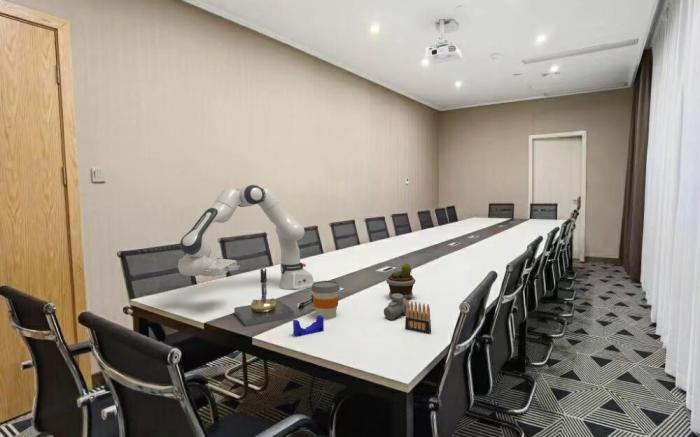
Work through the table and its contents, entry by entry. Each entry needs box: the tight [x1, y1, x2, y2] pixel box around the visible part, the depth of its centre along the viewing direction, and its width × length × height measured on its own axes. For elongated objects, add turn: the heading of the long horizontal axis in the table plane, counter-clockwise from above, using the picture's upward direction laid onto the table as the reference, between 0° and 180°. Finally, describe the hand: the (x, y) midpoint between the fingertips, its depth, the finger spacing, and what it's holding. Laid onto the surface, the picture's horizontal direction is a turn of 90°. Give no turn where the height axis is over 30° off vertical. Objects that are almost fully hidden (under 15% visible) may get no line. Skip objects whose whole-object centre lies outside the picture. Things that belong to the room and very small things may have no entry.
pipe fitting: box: [383, 293, 411, 320], centre depth 176 cm, size 12×8×10 cm
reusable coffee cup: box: [311, 280, 340, 320], centre depth 179 cm, size 13×12×15 cm
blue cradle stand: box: [292, 315, 325, 338], centre depth 159 cm, size 12×4×6 cm, turn 119°
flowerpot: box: [385, 262, 416, 301], centre depth 205 cm, size 14×15×20 cm
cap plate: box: [233, 300, 295, 327], centre depth 181 cm, size 22×20×3 cm
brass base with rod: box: [250, 267, 277, 312], centre depth 183 cm, size 17×11×17 cm, turn 10°
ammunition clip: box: [404, 300, 432, 335], centre depth 158 cm, size 11×2×12 cm, turn 56°
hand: (239, 267), depth 191 cm, fingers closed
